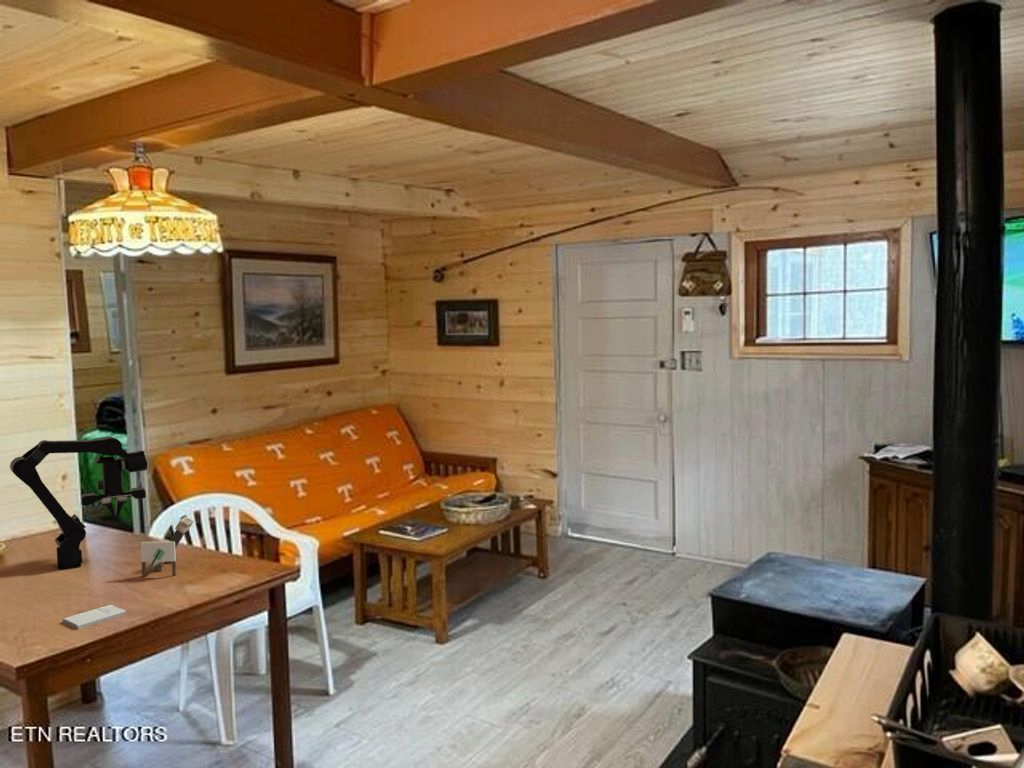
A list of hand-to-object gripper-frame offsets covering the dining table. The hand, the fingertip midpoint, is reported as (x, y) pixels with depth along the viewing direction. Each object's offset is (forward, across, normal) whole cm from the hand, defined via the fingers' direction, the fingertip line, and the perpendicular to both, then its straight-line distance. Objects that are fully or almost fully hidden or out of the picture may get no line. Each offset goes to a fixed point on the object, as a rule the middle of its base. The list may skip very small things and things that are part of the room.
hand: (115, 521), depth 260 cm
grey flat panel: (+8, -10, +28) cm, 30 cm away
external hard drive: (+12, +9, +57) cm, 59 cm away
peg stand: (+12, -13, +22) cm, 28 cm away
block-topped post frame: (+10, -10, +21) cm, 25 cm away
